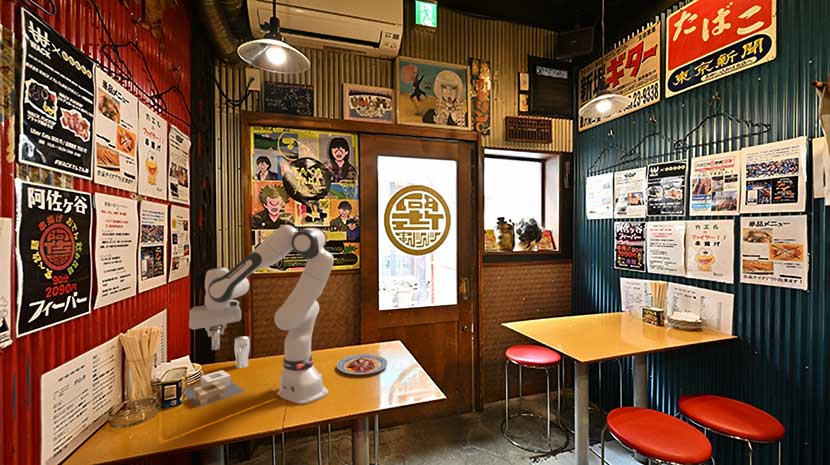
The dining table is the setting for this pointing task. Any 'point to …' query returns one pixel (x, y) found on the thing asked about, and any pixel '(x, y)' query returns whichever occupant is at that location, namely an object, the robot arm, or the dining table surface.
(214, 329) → the steel pin
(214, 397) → the mount block
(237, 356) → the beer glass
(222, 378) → the socket block
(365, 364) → the ceramic plate
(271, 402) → the dining table surface
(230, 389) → the rubber mat
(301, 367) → the robot arm
